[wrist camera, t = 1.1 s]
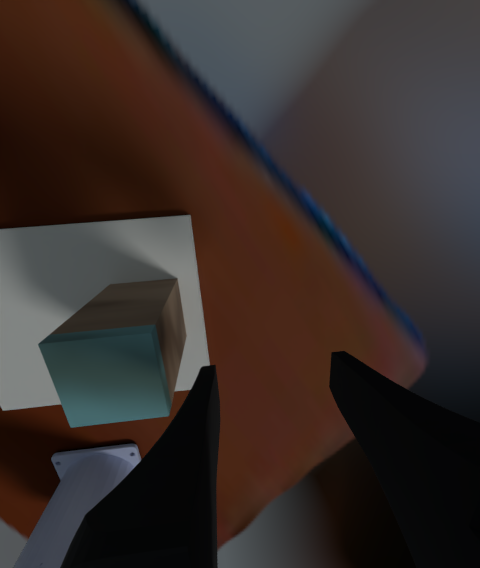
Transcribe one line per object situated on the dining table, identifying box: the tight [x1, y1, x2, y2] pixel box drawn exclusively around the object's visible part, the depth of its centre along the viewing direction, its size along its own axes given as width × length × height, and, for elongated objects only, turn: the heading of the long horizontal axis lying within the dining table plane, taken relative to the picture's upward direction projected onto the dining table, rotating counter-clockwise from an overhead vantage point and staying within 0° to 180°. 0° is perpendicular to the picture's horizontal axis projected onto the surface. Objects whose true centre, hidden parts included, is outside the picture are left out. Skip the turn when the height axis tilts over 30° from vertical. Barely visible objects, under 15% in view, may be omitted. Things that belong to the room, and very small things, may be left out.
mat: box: [0, 215, 210, 411], centre depth 20 cm, size 15×18×1 cm
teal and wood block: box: [38, 278, 187, 427], centre depth 16 cm, size 5×5×8 cm
